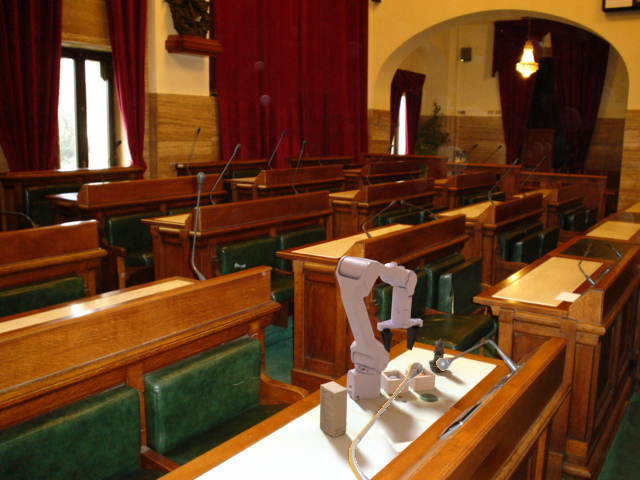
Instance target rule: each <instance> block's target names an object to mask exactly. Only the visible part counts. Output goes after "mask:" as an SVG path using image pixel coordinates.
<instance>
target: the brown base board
mask: <svg viewBox="0 0 640 480" xmlns="http://www.w3.org/2000/svg"><path fill="white" fill-rule="evenodd" d="M397 398H398V399H403V395H402V396H401V395H398V396H397ZM419 399H420V400H422V401H424V402H427V403H434V402H437V401H438V400H439V397H438V396H437V395H435V394H432V393H422V394H420V395H419ZM401 402H402V403H405V404H406V403H407V402H408V401H407V400H406V399H403V400H401Z"/></svg>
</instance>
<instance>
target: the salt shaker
mask: <svg viewBox="0 0 640 480" xmlns="http://www.w3.org/2000/svg"><path fill="white" fill-rule="evenodd" d="M434 343H435V345H434V350H433V351H432V352H433V354H434V355H433V359H431V360H429V361H428V365H429V368H430V371H431V370H432V371H433V372H435V373H442V372H444V371H441V370H440V369H439V368H438V367H437V365H436V361H437V360H438V359H439V358H443V359H444V356H445V354H446V352H445V342H444V341H442V338H441V337H440V338H439V340H436V341H435V342H434ZM432 371H431V372H432Z"/></svg>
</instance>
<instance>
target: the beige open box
mask: <svg viewBox="0 0 640 480" xmlns="http://www.w3.org/2000/svg"><path fill="white" fill-rule="evenodd" d="M422 367H423V372H422V374H424V375H425V376H417V377H414V378H413V379H411V380H410V381H409V388H410V389H411V390H412V391H413V392H421V391H422V392H424V391H431V390H434V389H435V385H436V374H435V373H433V372H432V371H431V369H429V368H428V367H426V366H422ZM409 368H410V367H409ZM409 368H405V371H404V374H405V375H406V376H407V374H408V372H409Z"/></svg>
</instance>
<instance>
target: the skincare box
mask: <svg viewBox="0 0 640 480" xmlns="http://www.w3.org/2000/svg"><path fill="white" fill-rule="evenodd" d="M319 399H320V400H319V401H320V402H319V403H320V404H319V428H320V429H321V430H322V431H324V432H325V433H326V434H328V435H330V437H331V436H332V437H333V438H335V437H338V436H340V435H343V434H346V433H347V414H348V413H347V411H348V393H347V387H345V386H342V385H341V384H339V383H337V382H335V381H334V380H332V381H329V382H325V383H322V384H320V397H319Z"/></svg>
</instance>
